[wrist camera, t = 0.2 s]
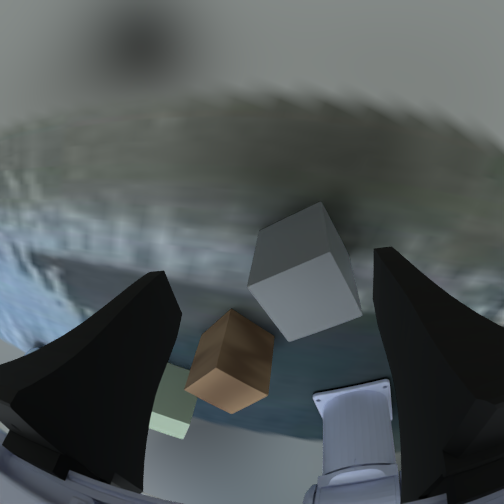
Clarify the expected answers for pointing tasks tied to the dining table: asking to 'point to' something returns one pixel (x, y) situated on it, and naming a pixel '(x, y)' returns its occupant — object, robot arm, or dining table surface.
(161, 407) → the sage block
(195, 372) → the walnut block
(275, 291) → the grey block
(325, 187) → the dining table surface
